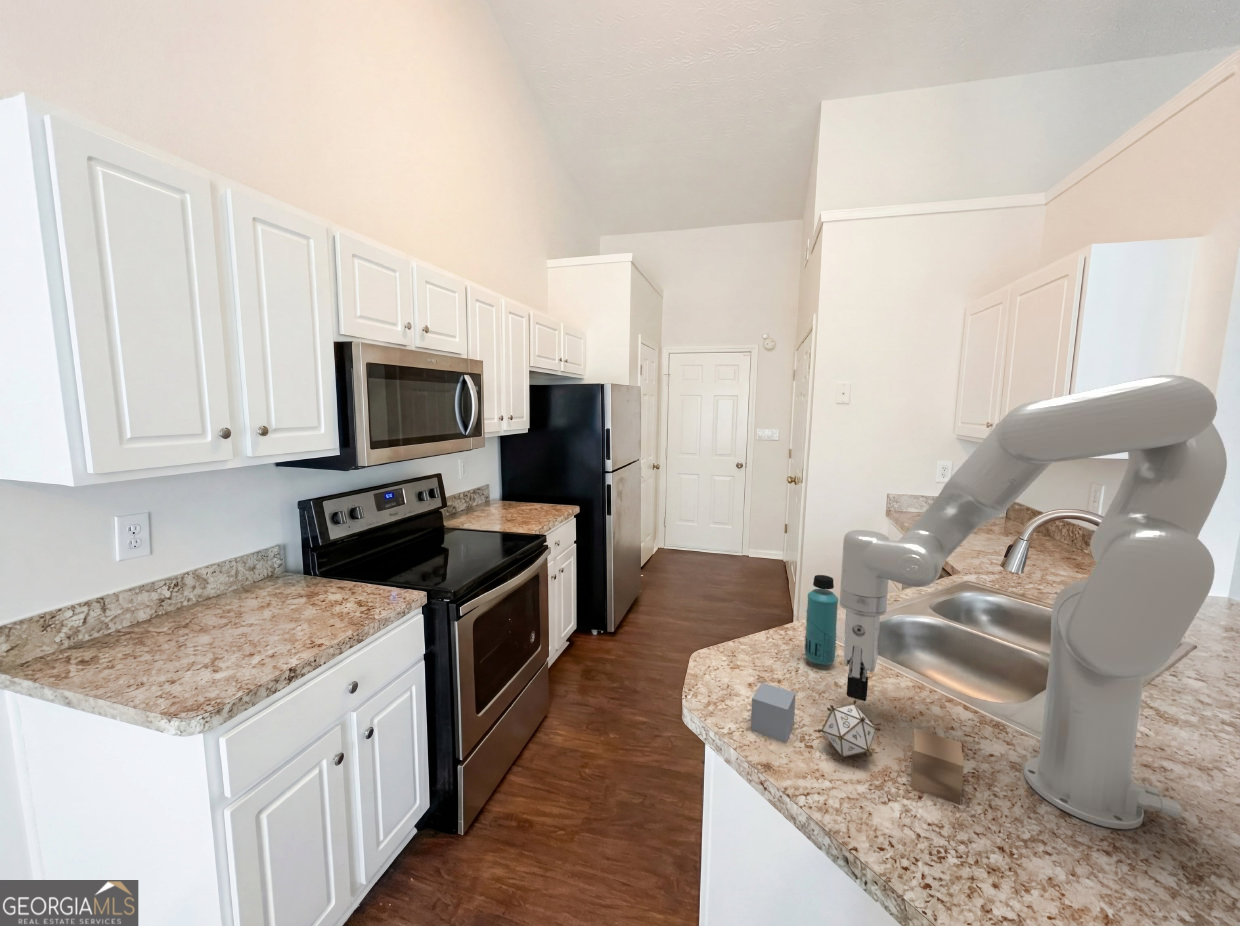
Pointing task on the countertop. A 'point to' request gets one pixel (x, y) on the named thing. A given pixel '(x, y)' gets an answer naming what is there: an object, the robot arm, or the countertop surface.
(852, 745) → the game die
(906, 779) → the countertop surface
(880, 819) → the countertop surface
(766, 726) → the slate block
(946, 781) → the walnut block
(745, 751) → the countertop surface
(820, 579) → the beverage bottle
